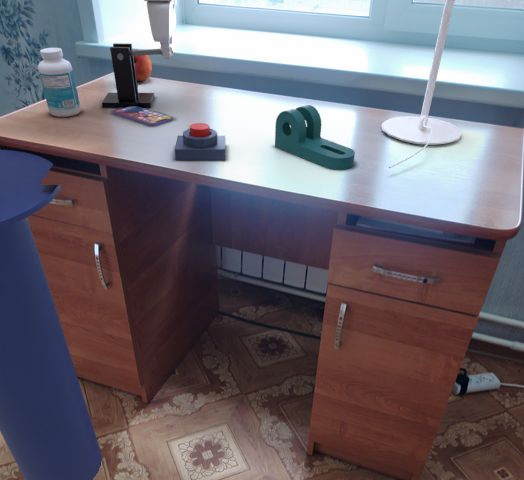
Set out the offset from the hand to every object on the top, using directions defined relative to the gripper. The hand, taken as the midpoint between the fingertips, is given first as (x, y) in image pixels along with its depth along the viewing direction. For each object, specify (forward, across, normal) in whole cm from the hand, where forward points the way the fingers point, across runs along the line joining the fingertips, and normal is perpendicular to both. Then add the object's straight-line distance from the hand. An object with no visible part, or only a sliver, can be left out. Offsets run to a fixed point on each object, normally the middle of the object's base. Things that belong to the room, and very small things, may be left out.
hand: (167, 55), depth 123 cm
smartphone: (+11, +11, -6) cm, 17 cm away
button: (+7, +35, +9) cm, 37 cm away
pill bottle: (+11, +9, -25) cm, 29 cm away
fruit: (+11, -21, -11) cm, 26 cm away
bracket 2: (+11, +36, +33) cm, 50 cm away
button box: (+11, +35, +9) cm, 38 cm away
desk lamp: (+11, +30, +57) cm, 66 cm away
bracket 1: (+11, 0, -11) cm, 15 cm away
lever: (+1, 0, -5) cm, 5 cm away
